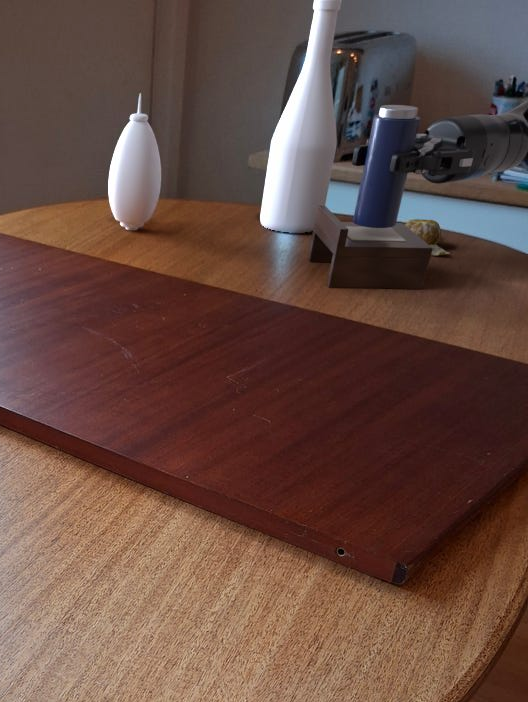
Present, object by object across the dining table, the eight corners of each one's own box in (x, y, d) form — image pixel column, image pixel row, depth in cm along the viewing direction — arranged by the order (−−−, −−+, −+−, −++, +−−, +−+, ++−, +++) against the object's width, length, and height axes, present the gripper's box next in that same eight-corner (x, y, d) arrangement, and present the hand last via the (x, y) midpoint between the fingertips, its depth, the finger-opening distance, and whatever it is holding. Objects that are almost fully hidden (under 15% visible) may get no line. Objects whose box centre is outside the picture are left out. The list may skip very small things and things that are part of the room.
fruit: (390, 253, 126) (396, 226, 124) (386, 239, 132) (393, 212, 130) (450, 258, 125) (458, 230, 122) (444, 243, 131) (451, 216, 129)
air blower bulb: (162, 225, 137) (174, 91, 126) (149, 237, 132) (160, 97, 121) (115, 220, 140) (122, 88, 128) (99, 232, 134) (106, 94, 123)
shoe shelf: (393, 261, 123) (406, 207, 119) (422, 289, 113) (437, 231, 108) (307, 259, 123) (317, 205, 119) (328, 287, 113) (340, 229, 109)
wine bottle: (263, 217, 142) (298, -12, 124) (323, 223, 140) (368, -11, 121) (254, 231, 135) (289, -10, 117) (317, 237, 133) (363, -9, 114)
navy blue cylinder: (389, 218, 116) (414, 104, 108) (400, 228, 112) (428, 110, 104) (348, 217, 116) (371, 104, 108) (358, 228, 112) (383, 110, 104)
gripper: (426, 108, 118) (337, 117, 111) (521, 123, 108) (429, 134, 101) (412, 170, 122) (325, 183, 115) (501, 190, 113) (412, 205, 106)
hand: (374, 160), depth 108 cm, fingers closed on navy blue cylinder, 5 cm apart
